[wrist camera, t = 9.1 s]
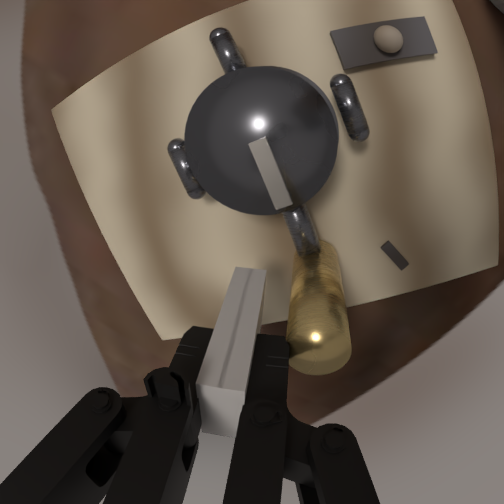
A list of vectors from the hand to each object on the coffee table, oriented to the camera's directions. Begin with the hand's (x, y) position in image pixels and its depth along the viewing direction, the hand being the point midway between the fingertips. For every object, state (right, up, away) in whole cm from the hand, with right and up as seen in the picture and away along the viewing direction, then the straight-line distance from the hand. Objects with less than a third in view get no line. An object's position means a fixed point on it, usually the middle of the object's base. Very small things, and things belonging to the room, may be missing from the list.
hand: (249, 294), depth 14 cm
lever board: (+2, +7, +3) cm, 8 cm away
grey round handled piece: (+1, +6, +1) cm, 6 cm away
